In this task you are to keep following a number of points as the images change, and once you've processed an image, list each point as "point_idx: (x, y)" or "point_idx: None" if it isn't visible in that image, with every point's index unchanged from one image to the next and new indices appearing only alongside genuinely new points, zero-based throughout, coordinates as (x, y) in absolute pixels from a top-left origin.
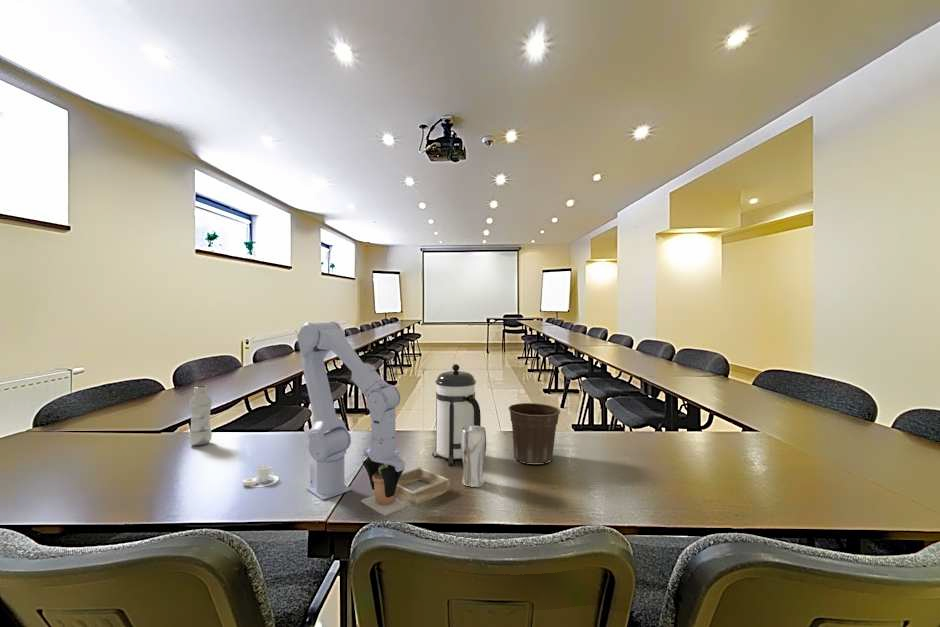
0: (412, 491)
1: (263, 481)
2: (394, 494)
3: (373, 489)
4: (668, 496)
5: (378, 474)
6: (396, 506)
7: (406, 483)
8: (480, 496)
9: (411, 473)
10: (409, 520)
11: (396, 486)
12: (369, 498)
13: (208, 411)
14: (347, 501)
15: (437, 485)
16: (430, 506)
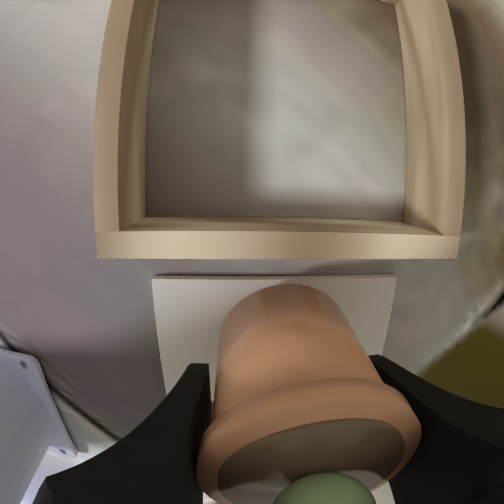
0: (433, 234)
1: None
2: (381, 356)
3: (211, 409)
4: None
5: (270, 497)
6: (367, 317)
7: (149, 70)
8: (495, 3)
9: (138, 7)
10: (463, 325)
11: (415, 376)
12: (177, 367)
13: None
14: (128, 420)
15: (454, 52)
16: (465, 179)
